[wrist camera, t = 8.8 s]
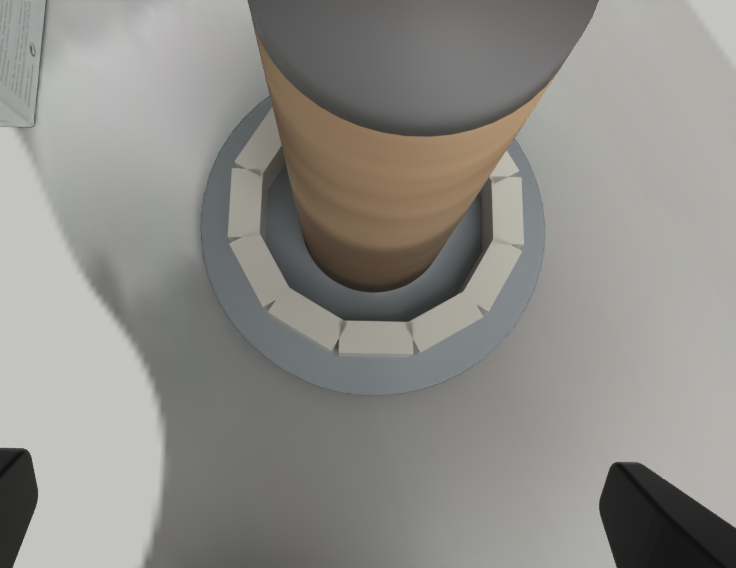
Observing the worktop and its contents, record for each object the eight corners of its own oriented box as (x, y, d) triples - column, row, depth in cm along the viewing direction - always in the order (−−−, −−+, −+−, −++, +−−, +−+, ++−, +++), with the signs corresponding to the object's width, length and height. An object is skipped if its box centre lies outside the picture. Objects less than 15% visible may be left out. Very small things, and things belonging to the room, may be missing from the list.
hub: (542, 398, 21) (569, 397, 18) (195, 392, 20) (175, 391, 18) (529, 84, 23) (551, 46, 20) (218, 72, 22) (203, 32, 20)
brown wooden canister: (450, 288, 20) (630, 103, 8) (304, 296, 20) (239, 115, 7) (437, 136, 21) (574, -245, 9) (298, 141, 21) (233, -246, 8)
